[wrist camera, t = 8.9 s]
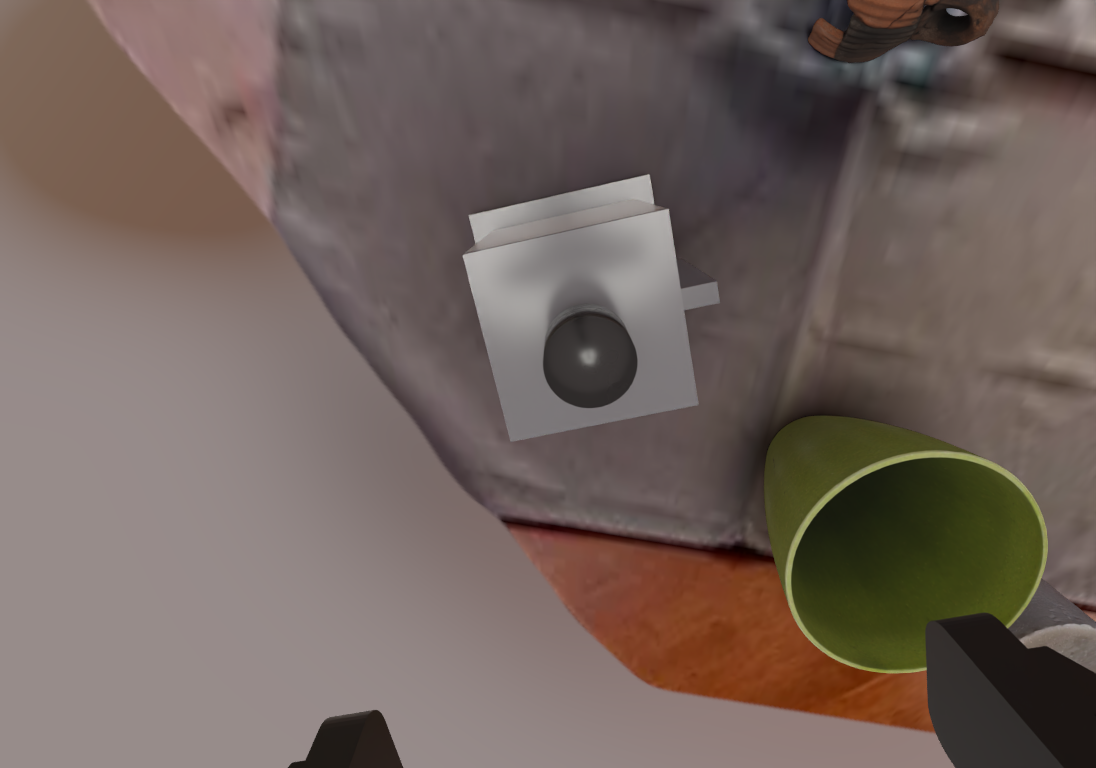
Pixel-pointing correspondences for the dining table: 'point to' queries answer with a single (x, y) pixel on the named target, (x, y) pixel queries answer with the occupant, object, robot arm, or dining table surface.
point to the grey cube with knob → (584, 298)
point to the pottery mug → (901, 26)
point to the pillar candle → (1057, 626)
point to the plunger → (589, 356)
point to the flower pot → (894, 537)
